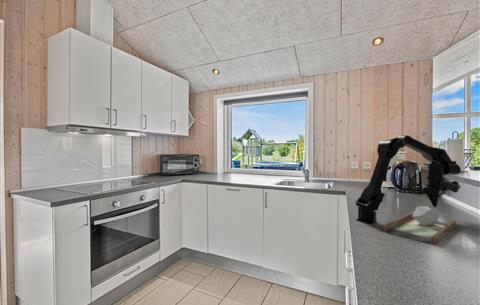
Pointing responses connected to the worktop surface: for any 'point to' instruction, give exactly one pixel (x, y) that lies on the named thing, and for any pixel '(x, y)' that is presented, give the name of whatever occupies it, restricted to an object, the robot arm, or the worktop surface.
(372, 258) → the worktop surface
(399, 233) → the box
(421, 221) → the die
